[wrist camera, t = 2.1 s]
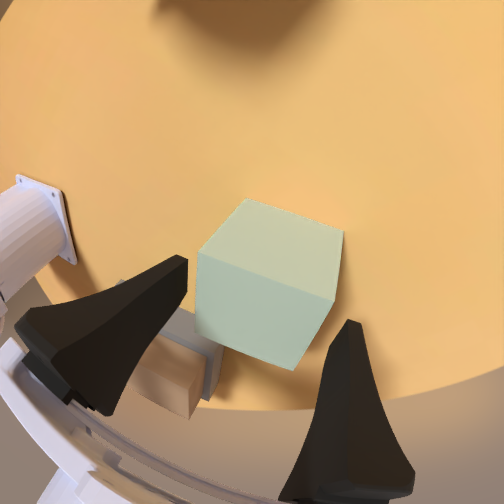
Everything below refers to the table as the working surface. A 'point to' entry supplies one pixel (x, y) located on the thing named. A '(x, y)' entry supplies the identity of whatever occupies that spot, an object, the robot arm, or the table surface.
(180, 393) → the tower top
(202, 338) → the tower base
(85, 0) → the table surface
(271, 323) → the green cube
